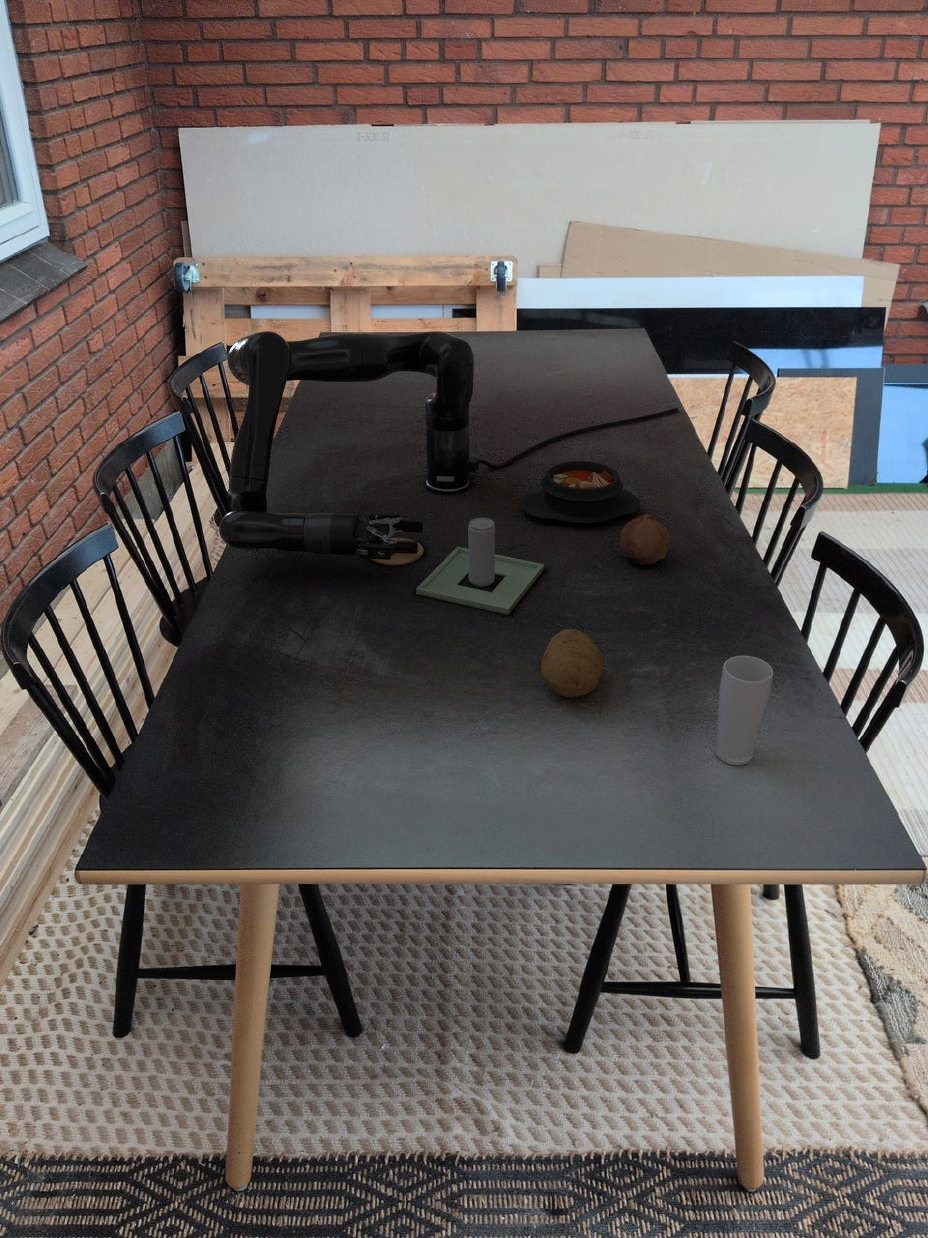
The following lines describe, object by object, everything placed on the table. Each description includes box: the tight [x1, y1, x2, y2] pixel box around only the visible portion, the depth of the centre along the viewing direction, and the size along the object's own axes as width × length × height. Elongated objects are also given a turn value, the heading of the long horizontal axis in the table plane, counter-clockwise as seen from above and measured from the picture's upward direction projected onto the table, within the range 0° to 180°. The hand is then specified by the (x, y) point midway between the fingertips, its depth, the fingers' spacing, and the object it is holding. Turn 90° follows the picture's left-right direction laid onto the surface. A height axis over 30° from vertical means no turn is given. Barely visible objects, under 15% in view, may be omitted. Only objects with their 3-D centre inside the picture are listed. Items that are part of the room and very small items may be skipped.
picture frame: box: [415, 546, 545, 616], centre depth 191 cm, size 18×18×1 cm
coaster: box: [370, 537, 424, 566], centre depth 201 cm, size 11×11×1 cm
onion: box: [619, 513, 671, 567], centre depth 196 cm, size 10×9×10 cm
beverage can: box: [467, 517, 496, 588], centre depth 188 cm, size 5×5×12 cm
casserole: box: [520, 460, 641, 524], centre depth 215 cm, size 25×19×8 cm
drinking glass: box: [714, 655, 774, 766], centre depth 144 cm, size 7×7×15 cm
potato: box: [540, 628, 604, 698], centre depth 160 cm, size 10×14×8 cm
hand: (420, 536), depth 187 cm, fingers open, 8 cm apart
